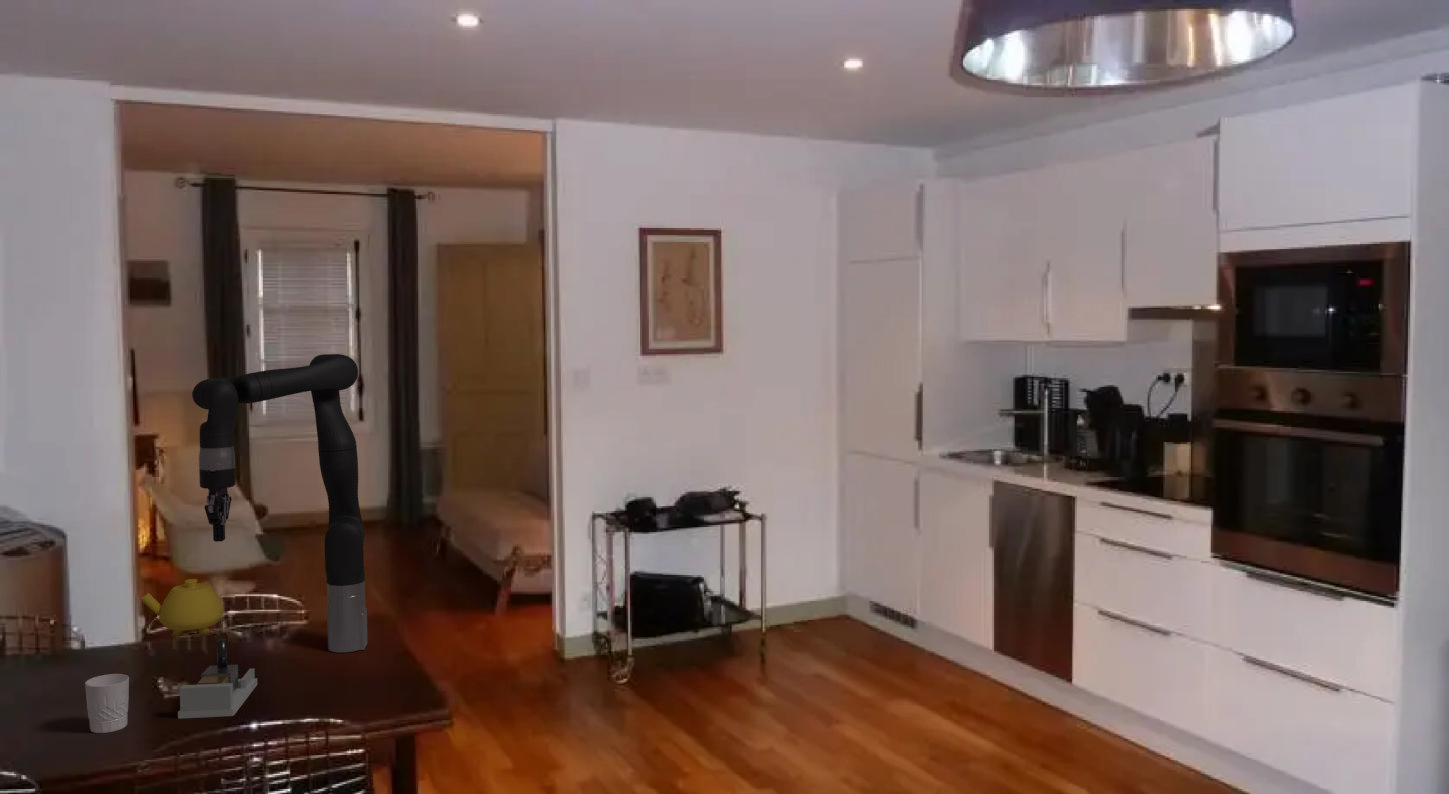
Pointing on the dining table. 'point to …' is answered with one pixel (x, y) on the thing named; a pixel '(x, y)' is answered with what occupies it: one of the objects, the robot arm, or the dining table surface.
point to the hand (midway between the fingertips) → (219, 540)
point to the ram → (223, 665)
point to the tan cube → (214, 679)
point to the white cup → (107, 702)
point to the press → (215, 698)
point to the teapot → (188, 607)
